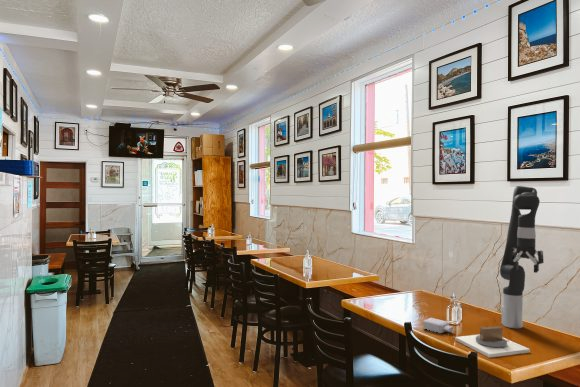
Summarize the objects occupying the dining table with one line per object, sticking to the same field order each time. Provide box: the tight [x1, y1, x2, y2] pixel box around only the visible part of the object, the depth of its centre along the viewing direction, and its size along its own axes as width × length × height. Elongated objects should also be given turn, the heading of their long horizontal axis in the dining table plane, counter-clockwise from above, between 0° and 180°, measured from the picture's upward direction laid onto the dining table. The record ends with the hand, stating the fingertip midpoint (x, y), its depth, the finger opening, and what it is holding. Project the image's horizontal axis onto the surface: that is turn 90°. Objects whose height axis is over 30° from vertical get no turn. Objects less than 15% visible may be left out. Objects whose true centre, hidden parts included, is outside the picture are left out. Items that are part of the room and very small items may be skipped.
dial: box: [476, 325, 507, 348], centre depth 192 cm, size 13×13×7 cm
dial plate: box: [454, 333, 531, 359], centre depth 192 cm, size 22×22×2 cm
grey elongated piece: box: [422, 317, 457, 334], centre depth 213 cm, size 5×9×15 cm
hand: (526, 271), depth 197 cm, fingers open, 8 cm apart
